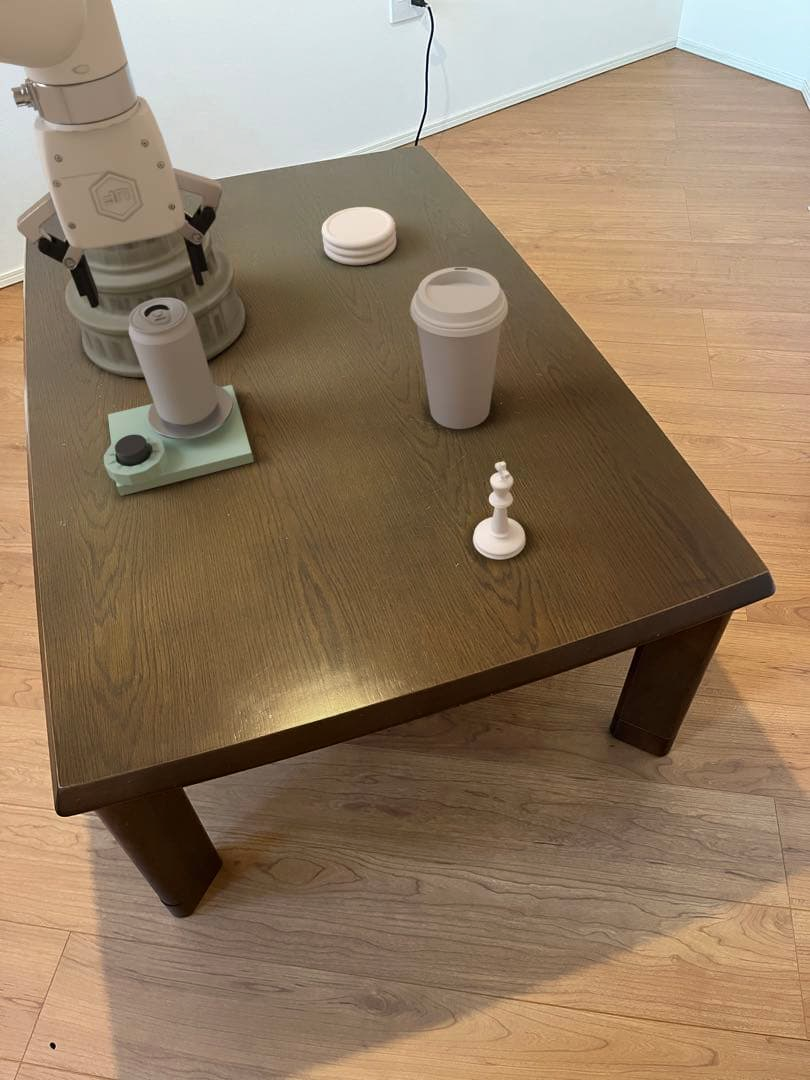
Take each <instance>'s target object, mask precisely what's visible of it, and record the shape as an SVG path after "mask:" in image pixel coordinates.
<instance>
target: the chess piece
mask: <svg viewBox="0 0 810 1080" xmlns="http://www.w3.org/2000/svg"><path fill="white" fill-rule="evenodd" d="M494 469H496V470H497V472H495V473H493V474H492V475H491V477H490V479H489V483H490V486H491V488H492V490H493V491H492V492H491V493H490V494H489V496H488V502H489V504H490V505H491V506H492V507H494V509H493V514H492V516H491V517H487V518H485V519H483V520H482V521H480V522H479V523H478V524H477V525H476V527H475V528H474V532H473V536H472V543H473V546H474V548H475V549H476V551H478V553H480V554H481V555H482V556H484V557H486V558H489V559H491V560H502V561H503V560H508V559H512V558H514V557H516V556H518V555H519V554H520V553H521V552H522V551H523V549H524V547H525V546H526V534H525V530H524V527H522V525H521V524H520V523H519V522H518V521H516V520H515V519H513V518H510V517H508V511H507V508H508V507H510V506H511V505H512V504H513V502H514V497H513V495H512V493H511V492H510V490H511V488H512V487H513V484H514V478H513V476H512V475H511V473H510V472H509V471H508V470H507V463H506V462H505V461H504V460H502V461H498V462H496V463H494Z"/></svg>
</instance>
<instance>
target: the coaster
mask: <svg viewBox="0 0 810 1080" xmlns="http://www.w3.org/2000/svg"><path fill="white" fill-rule="evenodd" d="M321 235H322V243H323V250H324V253H325V254H326V255H327V257H329V258H330V259H331V260H332V261H335V262H336V263H339V264H342V265H348V266H366V265H371V264H374V263H378V262H381V261H383V260H384V259H386V258H387V257H388V256H390V255H391V254H392V253H393V252H394V250H395V248H396V246H397V237H396V236H397V232H396V222H395V219H394V218H393V216H391V215H390V214H389V213H388V212H386V211H385V210H382V209H379V208H375V207H371V206H357V207H349V208H345V209H342V210H339V211H337V212H334V213H332V215H329V217H327V218H326V219H325V221H324V222H323V223H322V225H321Z"/></svg>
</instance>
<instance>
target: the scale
mask: <svg viewBox="0 0 810 1080" xmlns="http://www.w3.org/2000/svg"><path fill="white" fill-rule="evenodd" d="M221 387H222V388H223V389H225V390H226V391H227V392H228V393H229V394H230V396H231V399H232V403H233V408H232V412H231V414H230V416H229V418H228V419H227V420H226V422H225V423H224V424H223V425H221V426H220V427H219V428H217V429H216V430H214V431H212V432H210V433H208V434H206V435H203V436H200V437H197V438H192V439H171V438H167V437H164V436H161V435H159V434H158V433H156V432H155V431H154V430H153V429H152V428H151V426H150V424H149V421H148V412H149V409H150V407H151V405H152V404H153V403H150V404H146V405H141V406H137V407H132V408H129V409H128V408H127V409H125V410H120V411H117V412H112V413H108V414H107V420H108V426H109V434H110V435H109V436H110V443H111V444H110V445H109V447H108V449H106V451H105V453H104V455H103V463H104V468H105V470H106V473H107V475H108V476H109V478H111V480H113V481H114V482H115V485H116V486H115V487H116V489H117V491H118V493H119V495H120V496H121V497H122V496H123V497H124V496H126V495H130V494H134V493H138V492H142V491H146V490H149V489H154V488H157V487H162V486H166V485H170V484H173V483H177V482H181V481H186V480H189V479H193V478H197V477H200V476H205V475H209V474H213V473H215V472H220V471H224V470H228V469H232V468H236V467H239V466H244V465H248V464H253V463H254V462H255V458H254V455H253V452H252V448H251V445H250V441H249V439H248V435H247V430H246V428H245V424H244V421H243V417H242V413H241V410H240V407H239V406H240V405H239V404H238V400H237V397H236V396H237V395H236V393H235V389H234V385H233V384H229V385H225V386H221ZM133 434H136V435H141V436H143V437H144V438H145V439H146V441H147V444H148V446H149V449H150V456H149V458H148V459H147V460H146V461H145V462H143V463H142V464H139V465H135V466H125V465H123V464H122V463H121V462H120V460H119V458H118V456H117V454H116V451H115V445H116V443H117V442H118V441H119V440H120V439H121V438H123V437H125V436H128V435H133Z"/></svg>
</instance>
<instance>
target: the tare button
mask: <svg viewBox="0 0 810 1080" xmlns="http://www.w3.org/2000/svg"><path fill="white" fill-rule="evenodd" d="M115 451H116V454H117V456H118V458H119V460H120V462H121V463H122V464H123V465H125V466H135V465H139V464H142V463H143V462H145V461H146V460H147V459H148V458H149V456H150V449H149V446H148V444H147V441H146V439H145V438H144V437H143V436H141V435H136V434H133V435H128V436H125V437H123V438H121V439H120V440H119V441H118V442H117V443H116V445H115Z"/></svg>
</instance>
